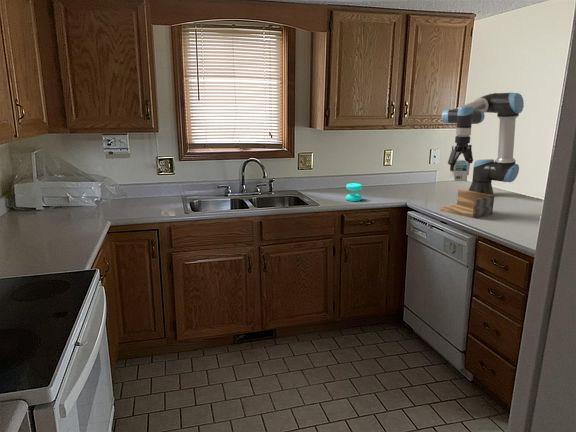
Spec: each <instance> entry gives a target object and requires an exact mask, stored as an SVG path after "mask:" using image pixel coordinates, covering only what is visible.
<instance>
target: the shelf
mask: <svg viewBox="0 0 576 432" xmlns="http://www.w3.org/2000/svg"><path fill="white" fill-rule="evenodd" d="M494 202H495V194H493V195H490V194H484V193H479V192H473V191H469V189H468V190H467V189H461V188H458V189H457V197H456V204H453V205H448V206H444V207H439V208H440V211H441V212H446V213H450V214H453V215H454V214H455V215H458V216H463V217H467V218H472V219H478V218H481V217H486V216H490V215H493V210H494Z"/></svg>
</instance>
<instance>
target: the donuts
mask: <svg viewBox="0 0 576 432" xmlns="http://www.w3.org/2000/svg"><path fill="white" fill-rule="evenodd" d="M345 188H346V189H347V190H349V191H352V192H353V191H356V192H358V191H361V190H362V189H363V185H362V184H361V183H356V182H355V183H354V182H353V183H352V182H351V183H347V184H346V186H345ZM345 200H346V201H350V202H359V201H361V200H362V195H361V194H359V193H349V194H346V196H345Z"/></svg>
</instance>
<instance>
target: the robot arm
mask: <svg viewBox="0 0 576 432" xmlns="http://www.w3.org/2000/svg"><path fill="white" fill-rule="evenodd" d="M524 106H525V103H524V97H523V95H522V94H521V93H519V92H494V93H489V94H486V95H482V96H480V97H478V98H476V99H474V100H473V101H471V102H469V103H466V104H463V105H461V106H459V107H456V108H453V109H450V108H449V109H444V110H443V111H442V113H441V121H442V122H443V123H444V124H456V129H455V135H456V136H455V139H454V144H456V145H452V146H451V151H450V155H449V157H448V160H447V164H448V165H450V166H449V177H451V178H452V177H455V169H456V165H455V163H456V161H457V160H459V157H460V155H463V158H464V160H466V161H467V162H469V163H468V174H467V176H469V174H470V166H471V164H472V163H473V170H472V180H471V184H470V187H469V188H468V191H473V192H479V193H484V194H490V195H494V189H493V185H492V181H495V182H503V183H513V182H514V181H515V180H516V179H517V177H518V175H519V171H520V166H519V164H518V163H516V159H515V158H514V148H515V135H516V134H515V132H516V120H517V118H518V117H519V116H520V115H519V114H520V113H522V112H523V109H524ZM485 113H491V114H493V113H494V114H496V115H497V118H499V126H498V127H499V130H498V146H497V147H498V148H497V158H496V159H495V160H494V159H493V158H492V159H491V158H490V159H487V158H486V159H477V160H475V161H474V159H473V158H474V157H473V151H472V144H470V143H471V134H472V125H475V124H476V125H478V124H480V123H482V122H484V120H485Z"/></svg>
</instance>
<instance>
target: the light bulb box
mask: <svg viewBox="0 0 576 432" xmlns="http://www.w3.org/2000/svg"><path fill="white" fill-rule="evenodd" d="M468 163H469V162H467V161H466V160H465V159H457V161H456V163H455V165H456V169H455V177H451V179H452V180H453V181H454V182H468V175H467V174H468Z"/></svg>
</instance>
